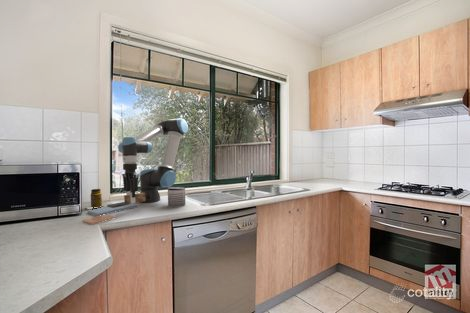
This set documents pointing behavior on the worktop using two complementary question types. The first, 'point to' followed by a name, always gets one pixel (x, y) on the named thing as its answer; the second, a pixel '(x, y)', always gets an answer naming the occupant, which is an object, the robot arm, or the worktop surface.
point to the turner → (138, 198)
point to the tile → (98, 219)
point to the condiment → (96, 198)
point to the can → (176, 196)
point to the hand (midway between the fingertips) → (131, 202)
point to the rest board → (110, 209)
